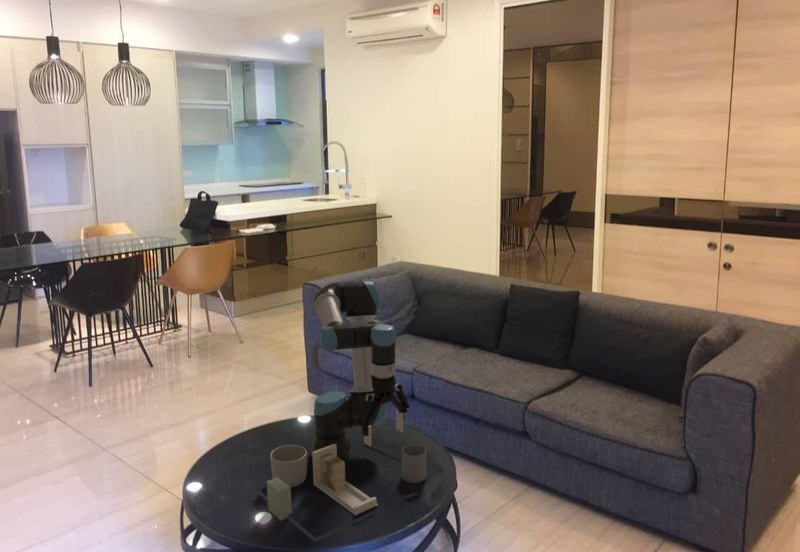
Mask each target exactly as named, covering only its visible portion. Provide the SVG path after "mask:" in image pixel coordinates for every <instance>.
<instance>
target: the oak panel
mask: <svg viewBox="0 0 800 552" xmlns="http://www.w3.org/2000/svg"><path fill="white" fill-rule="evenodd" d="M321 464H322V483H324V484H325V485H326V486H328V487H329V488H330V489H332V490H333V491H335V492H336V493H337V492H340V491H342V490H344V489H345V481H346V462H345V460H344V459H343V460H341V459H340V458H338V457H337V456H335V455H334V454H332V453H330V454H327V455H324V456H322V457H321Z"/></svg>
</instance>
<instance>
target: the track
mask: <svg viewBox="0 0 800 552" xmlns="http://www.w3.org/2000/svg"><path fill="white" fill-rule="evenodd" d="M330 453H332V454H334V455H335V456H337V445H336V444H332V445H330V446H327V447H324V448H322V449H319V450H316V451H313V452H312V456H313V459H312V476H313V481H312V482H313V486H315V487H316V488H318V489H319V490H320V491H322V492H323V493H324V494H326V495H328V497H330V498H331V499H333V500H334V501H335V502H336V503H338V504H339V505H340V506H342V507H343V508H345V509H346V510H348V511H349V512H350V513H352V514H353V515H354V516H357V515H359V514H361V513H364V512H365V511H368V510H370V509H372V508H374V507H376V506H378V505H379V504H378V503H377V497H376V496H373V497H370V496H369V495H367V494H366V493H364V492H363V491H362V490H360V489H358V488H357V487H355V486H354V485H353V484H351V483H350V482H348V481H347V480H345V489H344V490H342V491H340V492H337V493H336V492H335V491H333V490H332V489H330V488H329V487H328V486H326V485H325V484H324V483H322V464H321V457H322V456H324V455H327V454H330Z"/></svg>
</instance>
